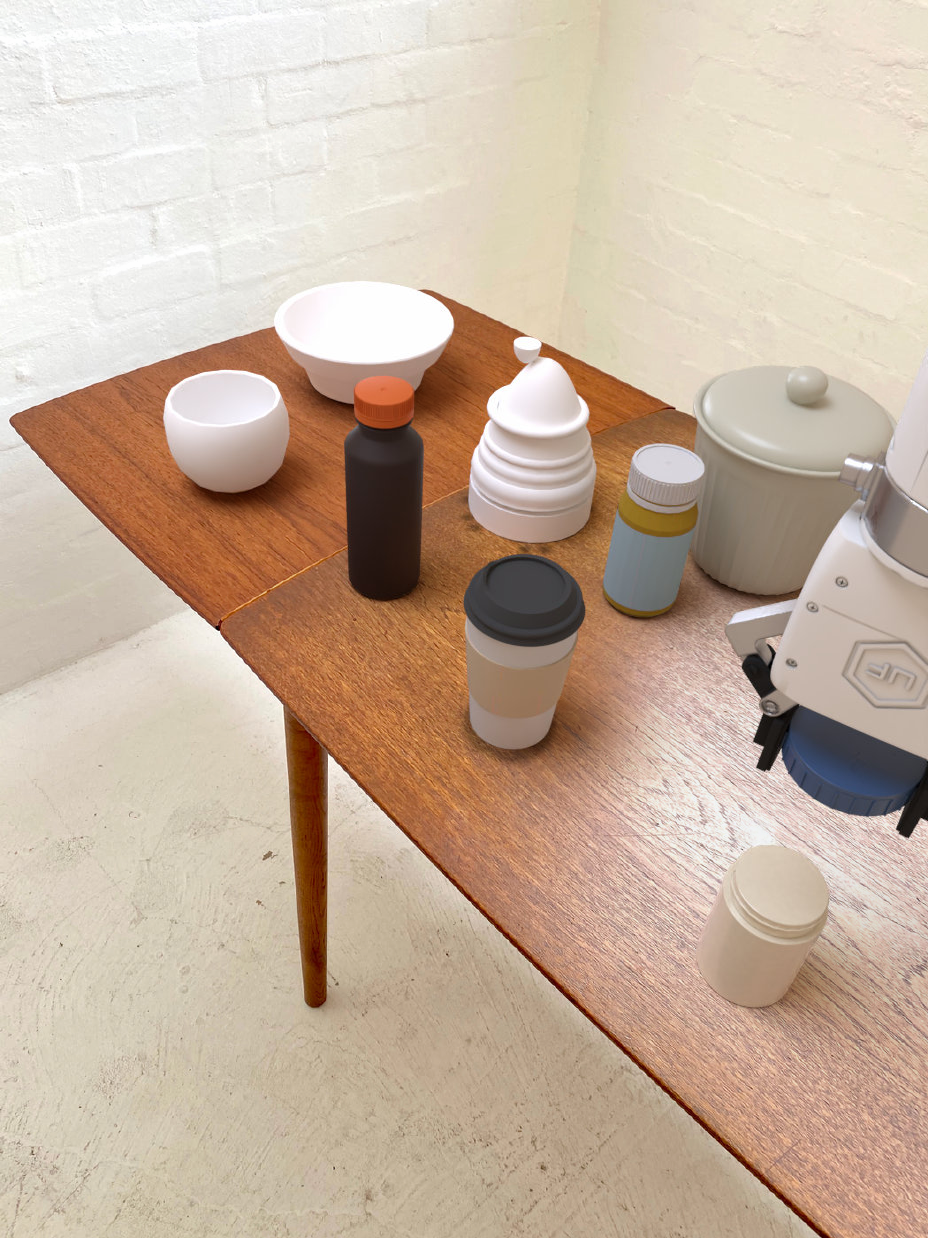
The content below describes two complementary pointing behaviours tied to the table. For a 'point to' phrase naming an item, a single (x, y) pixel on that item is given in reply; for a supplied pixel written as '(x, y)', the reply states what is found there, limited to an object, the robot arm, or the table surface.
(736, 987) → the jar
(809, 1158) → the table surface
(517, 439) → the honey pot
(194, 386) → the cup
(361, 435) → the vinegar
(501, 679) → the coffee cup
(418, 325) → the bowl
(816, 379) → the canister
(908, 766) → the lid
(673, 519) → the bottle
